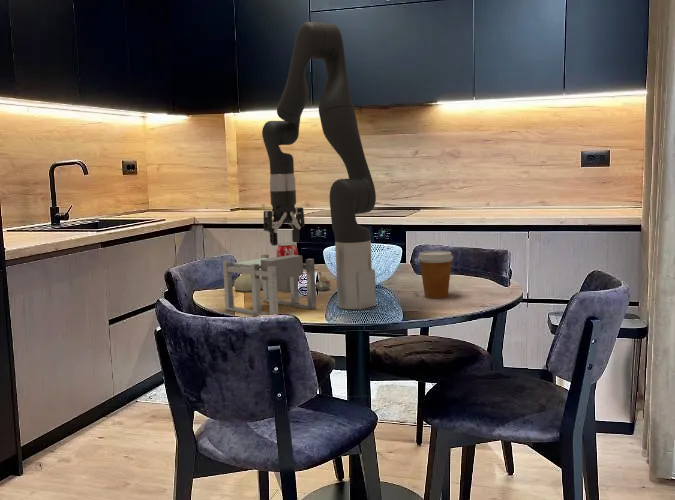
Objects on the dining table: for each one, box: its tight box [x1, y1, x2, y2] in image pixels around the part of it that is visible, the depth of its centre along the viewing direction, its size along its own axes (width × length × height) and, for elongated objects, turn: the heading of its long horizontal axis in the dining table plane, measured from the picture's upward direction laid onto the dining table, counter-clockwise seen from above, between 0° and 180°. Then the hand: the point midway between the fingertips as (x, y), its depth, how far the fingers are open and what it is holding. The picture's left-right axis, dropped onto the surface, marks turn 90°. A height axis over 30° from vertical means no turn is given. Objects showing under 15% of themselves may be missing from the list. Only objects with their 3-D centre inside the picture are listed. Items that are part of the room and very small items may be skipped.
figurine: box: [315, 271, 331, 292], centre depth 202 cm, size 5×4×6 cm
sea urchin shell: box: [233, 274, 263, 293], centre depth 207 cm, size 9×8×8 cm
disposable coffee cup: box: [417, 250, 454, 299], centre depth 185 cm, size 10×10×12 cm
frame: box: [222, 253, 317, 316], centre depth 177 cm, size 20×14×13 cm
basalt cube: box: [277, 276, 300, 293], centre depth 204 cm, size 5×5×5 cm
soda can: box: [276, 242, 299, 257], centre depth 221 cm, size 7×7×12 cm
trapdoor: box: [232, 254, 304, 280], centre depth 176 cm, size 15×11×5 cm
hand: (285, 243), depth 202 cm, fingers open, 8 cm apart
